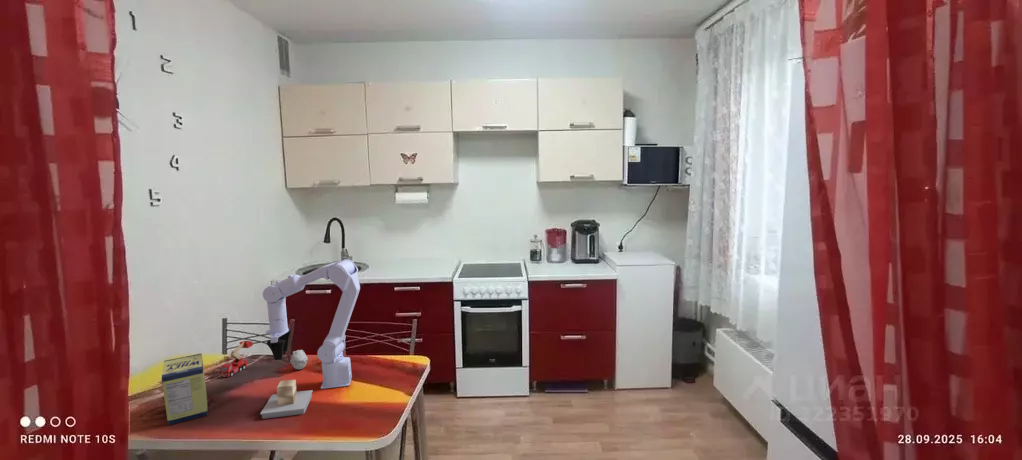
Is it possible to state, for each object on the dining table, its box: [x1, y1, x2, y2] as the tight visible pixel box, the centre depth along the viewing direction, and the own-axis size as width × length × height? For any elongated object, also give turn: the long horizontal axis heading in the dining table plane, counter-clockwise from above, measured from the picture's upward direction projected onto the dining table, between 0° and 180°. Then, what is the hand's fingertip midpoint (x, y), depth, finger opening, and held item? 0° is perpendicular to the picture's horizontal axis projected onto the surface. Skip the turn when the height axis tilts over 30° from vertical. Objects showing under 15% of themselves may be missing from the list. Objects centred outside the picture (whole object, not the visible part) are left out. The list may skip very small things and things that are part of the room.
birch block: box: [276, 379, 298, 405], centre depth 152 cm, size 4×4×6 cm
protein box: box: [161, 353, 209, 426], centre depth 151 cm, size 10×16×16 cm
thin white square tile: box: [259, 389, 313, 420], centre depth 152 cm, size 13×13×2 cm
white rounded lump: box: [289, 349, 308, 370], centre depth 181 cm, size 6×7×7 cm
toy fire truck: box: [221, 340, 254, 378], centre depth 181 cm, size 3×14×10 cm, turn 168°
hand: (281, 355), depth 168 cm, fingers open, 7 cm apart
